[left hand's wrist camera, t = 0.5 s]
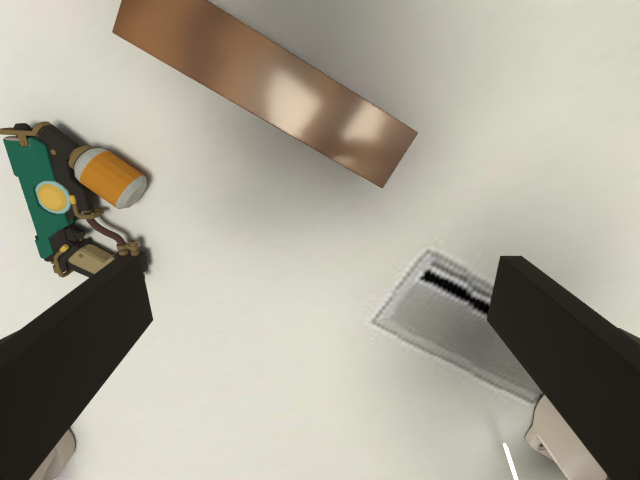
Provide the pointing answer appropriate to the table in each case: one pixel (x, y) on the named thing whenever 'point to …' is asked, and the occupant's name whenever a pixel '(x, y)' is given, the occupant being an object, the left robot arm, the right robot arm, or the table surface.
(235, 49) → the bar
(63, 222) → the spray gun
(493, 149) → the table surface
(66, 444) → the bust sculpture
